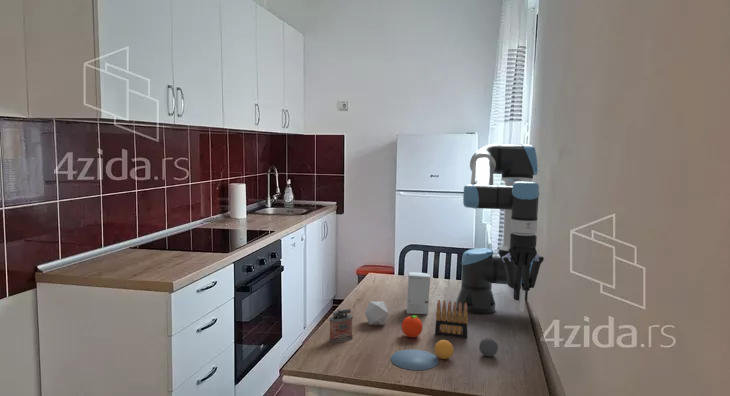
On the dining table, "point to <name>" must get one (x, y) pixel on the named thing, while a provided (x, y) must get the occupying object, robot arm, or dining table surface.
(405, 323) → the clementine
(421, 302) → the skincare box
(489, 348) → the dark grey sphere
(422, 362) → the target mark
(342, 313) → the lighter
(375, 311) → the die
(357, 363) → the dining table surface
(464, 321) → the ammunition clip
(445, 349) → the orange ball
